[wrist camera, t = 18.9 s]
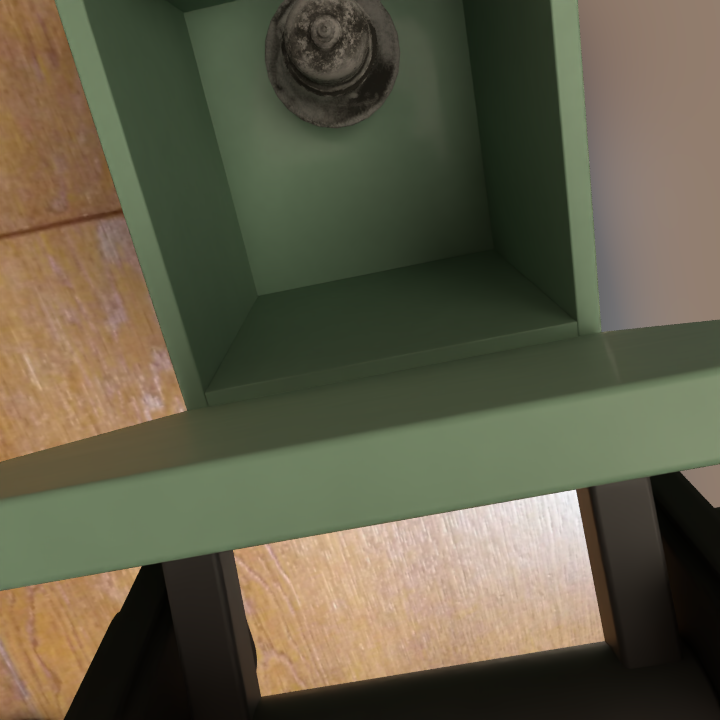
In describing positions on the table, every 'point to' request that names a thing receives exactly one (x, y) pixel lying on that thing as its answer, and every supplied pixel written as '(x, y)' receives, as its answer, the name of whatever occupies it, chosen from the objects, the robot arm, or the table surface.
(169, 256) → the chest
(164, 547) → the lid
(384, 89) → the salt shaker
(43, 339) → the table surface
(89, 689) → the robot arm
